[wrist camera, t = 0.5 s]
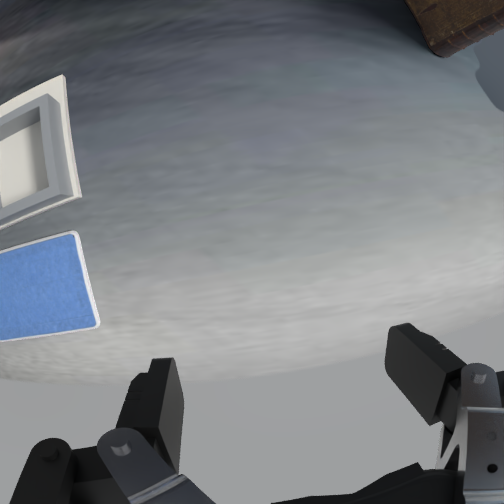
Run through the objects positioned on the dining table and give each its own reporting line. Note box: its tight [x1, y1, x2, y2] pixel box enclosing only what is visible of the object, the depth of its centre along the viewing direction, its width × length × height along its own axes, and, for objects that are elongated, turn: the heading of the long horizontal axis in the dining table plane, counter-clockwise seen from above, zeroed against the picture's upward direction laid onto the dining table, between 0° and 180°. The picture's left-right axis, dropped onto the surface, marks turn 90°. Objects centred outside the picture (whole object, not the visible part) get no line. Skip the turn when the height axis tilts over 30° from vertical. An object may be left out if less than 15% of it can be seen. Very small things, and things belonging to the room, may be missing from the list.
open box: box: [0, 75, 82, 230], centre depth 29 cm, size 17×14×5 cm
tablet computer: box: [0, 231, 100, 342], centre depth 33 cm, size 19×13×1 cm, turn 101°
